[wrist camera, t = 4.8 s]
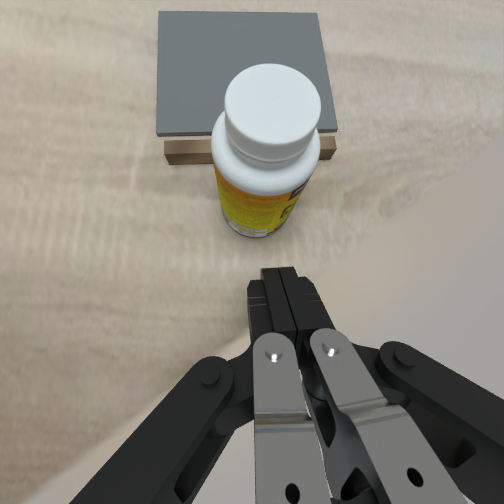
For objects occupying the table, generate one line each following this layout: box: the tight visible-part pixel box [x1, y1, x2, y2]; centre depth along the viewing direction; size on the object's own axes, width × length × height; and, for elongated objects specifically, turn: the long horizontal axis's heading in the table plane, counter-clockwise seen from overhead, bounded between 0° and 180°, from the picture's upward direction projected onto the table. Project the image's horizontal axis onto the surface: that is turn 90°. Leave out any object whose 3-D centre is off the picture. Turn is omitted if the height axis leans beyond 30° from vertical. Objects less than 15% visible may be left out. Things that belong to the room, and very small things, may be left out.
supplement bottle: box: [211, 64, 321, 237], centre depth 14 cm, size 6×6×10 cm
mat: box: [156, 11, 338, 136], centre depth 22 cm, size 16×14×1 cm
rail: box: [164, 136, 337, 164], centre depth 20 cm, size 14×1×1 cm, turn 94°
